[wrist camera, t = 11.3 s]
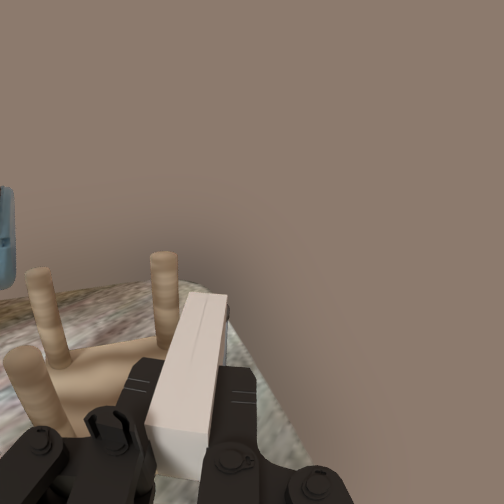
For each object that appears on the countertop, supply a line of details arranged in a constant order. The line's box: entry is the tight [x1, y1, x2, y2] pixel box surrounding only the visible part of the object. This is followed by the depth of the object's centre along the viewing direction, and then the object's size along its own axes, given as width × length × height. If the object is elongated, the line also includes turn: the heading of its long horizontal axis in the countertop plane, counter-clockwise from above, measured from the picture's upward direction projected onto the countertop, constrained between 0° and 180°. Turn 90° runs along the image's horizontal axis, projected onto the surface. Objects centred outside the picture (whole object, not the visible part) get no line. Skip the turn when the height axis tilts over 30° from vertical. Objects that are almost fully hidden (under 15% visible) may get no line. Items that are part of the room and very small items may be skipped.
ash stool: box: [3, 251, 179, 475], centre depth 27 cm, size 18×18×14 cm
